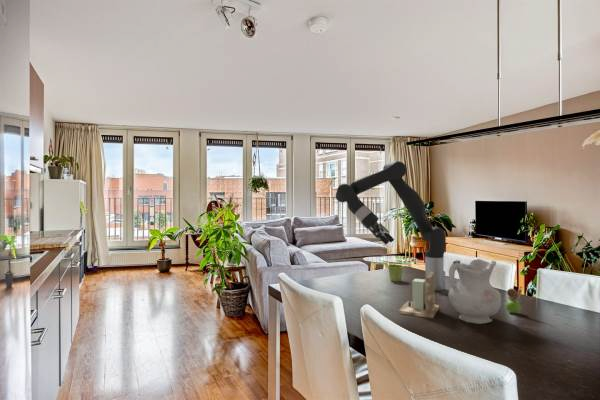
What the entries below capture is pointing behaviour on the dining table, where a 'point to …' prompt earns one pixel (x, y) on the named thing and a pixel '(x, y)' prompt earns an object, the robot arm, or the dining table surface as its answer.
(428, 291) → the hinge base
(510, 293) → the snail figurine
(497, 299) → the ceramic pitcher
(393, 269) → the plant pot
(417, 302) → the pale green block
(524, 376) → the dining table surface
